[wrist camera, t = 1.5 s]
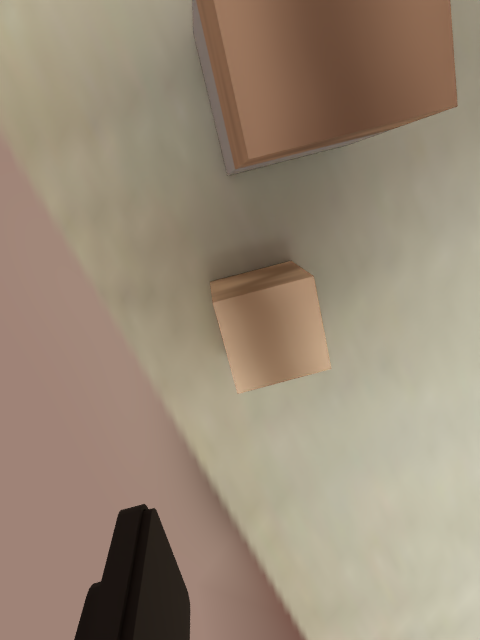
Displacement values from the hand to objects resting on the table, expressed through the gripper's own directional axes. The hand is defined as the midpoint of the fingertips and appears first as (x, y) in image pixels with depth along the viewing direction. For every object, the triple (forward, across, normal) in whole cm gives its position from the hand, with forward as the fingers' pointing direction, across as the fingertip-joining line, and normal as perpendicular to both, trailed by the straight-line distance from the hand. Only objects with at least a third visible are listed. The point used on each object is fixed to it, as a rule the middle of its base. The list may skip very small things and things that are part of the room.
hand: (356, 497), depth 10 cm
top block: (+11, -4, -12) cm, 17 cm away
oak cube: (+16, 0, 0) cm, 16 cm away
